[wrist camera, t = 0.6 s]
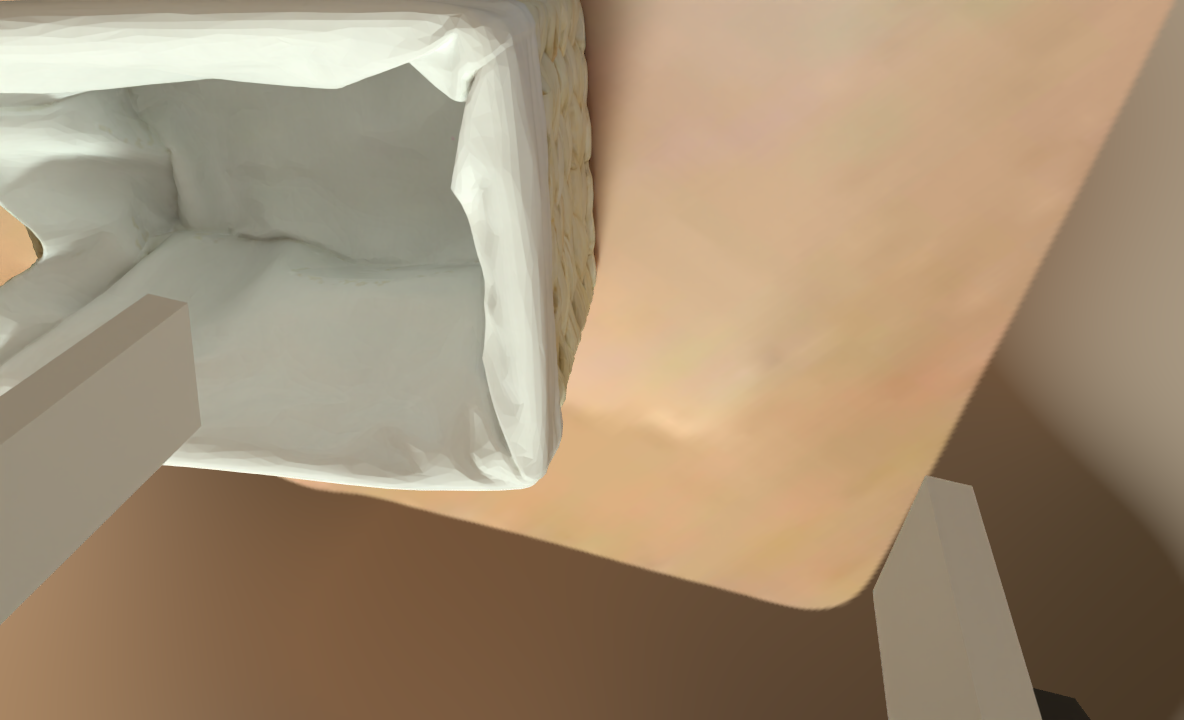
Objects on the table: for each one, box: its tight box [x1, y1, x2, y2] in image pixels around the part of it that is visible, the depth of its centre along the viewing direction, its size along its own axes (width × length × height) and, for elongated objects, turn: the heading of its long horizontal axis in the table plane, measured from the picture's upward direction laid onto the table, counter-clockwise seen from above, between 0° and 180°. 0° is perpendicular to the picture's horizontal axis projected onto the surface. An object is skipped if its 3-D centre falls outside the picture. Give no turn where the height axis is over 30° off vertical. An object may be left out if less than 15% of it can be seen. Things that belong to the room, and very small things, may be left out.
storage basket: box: [0, 0, 596, 491], centre depth 34 cm, size 24×16×15 cm
